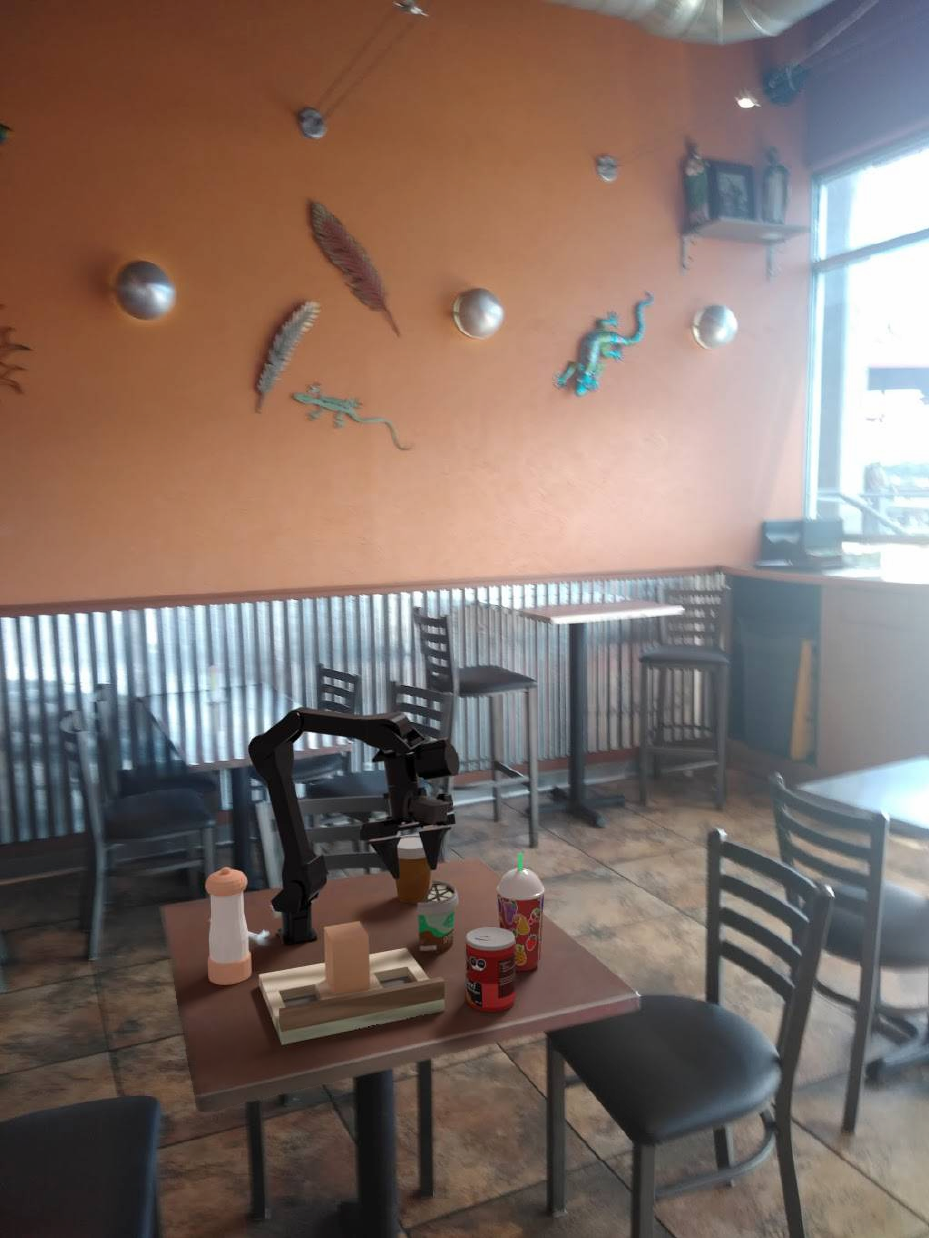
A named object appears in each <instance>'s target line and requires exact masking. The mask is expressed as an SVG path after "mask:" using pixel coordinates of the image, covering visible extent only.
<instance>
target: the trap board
mask: <svg viewBox="0 0 929 1238" xmlns="http://www.w3.org/2000/svg"><path fill="white" fill-rule="evenodd" d="M369 962H370V988H369V989H364V990H359V991H354V992H349V993H344V994H339V995H334V994H333V992H332V990H331V989H330V987H329V985H328V983H327V981H326V979H325V962H322V963H321V962H320V963H315V964H310V965H305V966H298V967H293V968H287V969H283V970H277V971H272V972H266V973H260V974H258V984H259V989H260V991H261V994H262V996H263V1000H264V1002H265V1004H266V1007H267V1010H268V1013H269V1015H270V1017H272V1018H271V1020H272V1023H273V1025H274V1028H275V1031H276V1033H277V1036H278V1038H279V1041H280V1044H281V1045H282V1046H284V1045H288V1044H294V1043H297V1042H298V1043H299V1042H302V1041H308V1040H311V1039H316V1038H322V1037H327V1036H331V1035H336V1034H341V1033H346V1032H349V1031H355V1029H356V1030H359V1028H360V1029H365V1028H368V1026H370V1027H372V1026H371V1025H375V1026H377V1025H376V1024H379V1025H383V1024H388V1023H393V1022H397V1021H402V1020H407V1018H408V1019H411V1018H410V1017H413V1018H417V1017H416V1016H418V1017H420V1016H419V1015H422V1016H425V1015H424V1014H427V1015H431V1014H435V1013H442V1012H445V1011H446V1004H445V1003H446V1001H445V1000H446V999H445V996H446V995H445V994H446V993H445V979H444V978H443V977H442V976H438V977H437V976H436V977H432V978H430V977H429V976H428V975H427V974H426V973H425V971H424V970H423V969H422V967H421V965H420V964H419V963H418V961H416V959H415V958H414V957H413V955H412V954H411V953H410V952H409V950H408V948H407V947H404V948H403V947H402V948H397V949H392V950H387V951H382V952H381V951H380V952H376V953H369ZM364 1027H365V1028H364Z"/></svg>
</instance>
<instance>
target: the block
mask: <svg viewBox="0 0 929 1238" xmlns="http://www.w3.org/2000/svg"><path fill="white" fill-rule="evenodd" d="M323 940H324V963H325V979H326V981H327V983H328V985H329V987H330V989H331V990H332V992H333V994H334V995H339V994H344V993H349V992H354V991H359V990H364V989H369V988H370V962H369V954H370V935H369V933H368V932H367V931H366V929H365V928H364V926H363V925H362V923H361V922H360V920H358V921H353V922H347V923H346V922H345V923H341V924H335V925H328V926H324V927H323Z"/></svg>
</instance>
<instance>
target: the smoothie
mask: <svg viewBox="0 0 929 1238" xmlns="http://www.w3.org/2000/svg"><path fill="white" fill-rule="evenodd" d="M545 889H546V888H545V887H544V884H543V883H542V881H541V880H540V877H539V876H538V875H537V874H536V873H535V872H534V871H533V870H530V869H528V868H524V867H523V853H522V852H521V853H520V852H519V853H518V867H516V868H513V869H510V870H509V871H508V872H506V873H505V874H504V875H503V877H501V880H500V883H499V885H497V887H496V893H497V896H496V897H497V907H498V920H499V921H498V922H499V928H503V929H506V930H508V931H510V932H512V933H513V934H514V936H515V972H516V971H517V972H527V971H528V972H529V971H530V970H531V971H532V970H533V969H536V967H538V964H539V962H540V960H541V958H542V957H541V955H542V954H541V953H542V939H543V937H542V936H543V935H542V934H543V919H544V918H543V917H544V901H545Z"/></svg>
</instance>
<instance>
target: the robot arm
mask: <svg viewBox="0 0 929 1238" xmlns="http://www.w3.org/2000/svg"><path fill="white" fill-rule="evenodd" d="M305 732H307V733H312V734H320V735H327V736H332V737H333V736H335V737H341V738H349V739H355V740H357V741H361V742H362V743H364V744H365V745H366V746H370V747H371V748H375V749H378V751H377V752H376V754H375V755H374V756H373V757H372V759H371V762H372V763H374V764H375V763H383V765H384V766H383V768H384V775H385V780H386V788H387V789H386V790H387V792H385V793H382V796H383V800H388V804H389V811H390V815H389V816H386V819H383V820H376V821H371V822H365V823H362V824H361V825H360V828H359V836H360V841H366V845H367V846H369V845H370V846H371V848H372V849H373V850H374V851H375V852H376V854H377V856H378V857H379V858H380V860H381V861H382V862H383V865H384V866H385V867H386V869H387V870H388V872H389V873H390V875H391V877H392V878H393V879H394V880H395V879H399V878H400V869H399V860H398V850H397V846H398V844H399V842H400V839H401V836H397V835H398V833H399V832H402V831H403V832H404V831H407V830H412V829H418V828H421V829H422V830H419V831H418V835H419V836H420V839H421V842H422V846H423V849H424V852H425V855H426V859H427V862H428V864H429V867H430V869H431V871H436V870H437V868H438V862H439V855H440V850H441V845H442V841H443V838H444V836H445V835H446V834H447V833H448V832H449V831H451V830H452V825H456V817H455V812H454V800H453V797H452V794H451V793H448V792H439V793H438V794H437V795H436V796H428V794H427V789H426V787H425V786H423V787H420V780H419V779H423V780H424V781H430V780H431V781H432V780H440V779H443V778H445V779H446V778H452V777H456V776H458V774H459V773H460V772H459V771H460V758H459V752H457V750H456V748H455V747H454V745H453V744H452V743H451V742H450V738H449V737H445V736H444V737H441V738H439V739H436V740H429V741H428V739H427V738H426V736H424V735H423V734H421V732H419V730H417V729H416V728H415V726H413V725H412V722H411V720H410V719H409V718H408V716H407V714H405V713H403V712H399V711H395V712H381V713H373V714H366V715H364V714H354V713H349V712H339V711H333V710H332V711H331V710H324V709H316V708H310V707H307V706H300V707H297V708H295V709H292V710H289V711H288V712H287V713H286V714H285V716H283V718H282V719H281V720H279V721H278V722H277V723H275V724H274V725H272V727H270V728H269V729H267V730H266V731H265V732H263V733H261V734H258V735H256V736H254V737H252V739H251V740H250V742H249V743H248V745H247V753H248V756H249V758H250V761H251V763H252V766H253V769H254V770H255V772H256V773H257V774H258V775H259V776H260V777H261V779H262V780H264V782H265V784H266V789H267V792H268V796H269V800H270V805H271V809H272V811H273V816H274V820H275V823H276V828H277V832H278V836H279V840H280V844H281V848H282V851H283V852H282V853H283V862H282V863H283V864H282V867H281V882H282V883H281V884H282V889H281V890H280V891H279V892H278V893H277V894H276V895H275V896H274V897H273V898H272V899H271V900H270V904H271V905H272V909H273V911H274V912H277V913H281V915H280V916H281V917H280V918H281V928H278V929H277V935H278V936H279V938H280V940H281V943H282V944H283V945H285V946H286V945H293V944H298V943H303V942H309V941H315V940H316V941H317V940H318V939H319V936H318V934H317V932H316V930H315V929H314V927H313V903H312V902H313V901H314V900H315V899H318V897H319V895H320V892H321V891H322V890H323V889H324V888H325V887H326V884H327V883H328V878H327V876H328V875H329V874H330V872H329V871H328V870H327V867H326V861H325V856H324V854H323V853H320V854H316V853H315V852H314V851H313V850H312V848H311V846H310V843H309V840H308V836H307V831H306V828H305V825H304V824H305V823H304V820H303V816H302V812H301V808H300V804H299V800H298V796H297V791H296V788H295V783H294V780H293V776H292V772H293V767H294V760H295V753H294V752H295V751H294V743H296V741H298V740H299V739H300V738H301V737H302V736H303V734H304V733H305ZM412 821H413V822H412ZM450 825H451V826H450ZM396 836H397V837H396ZM369 840H370V841H369Z"/></svg>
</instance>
